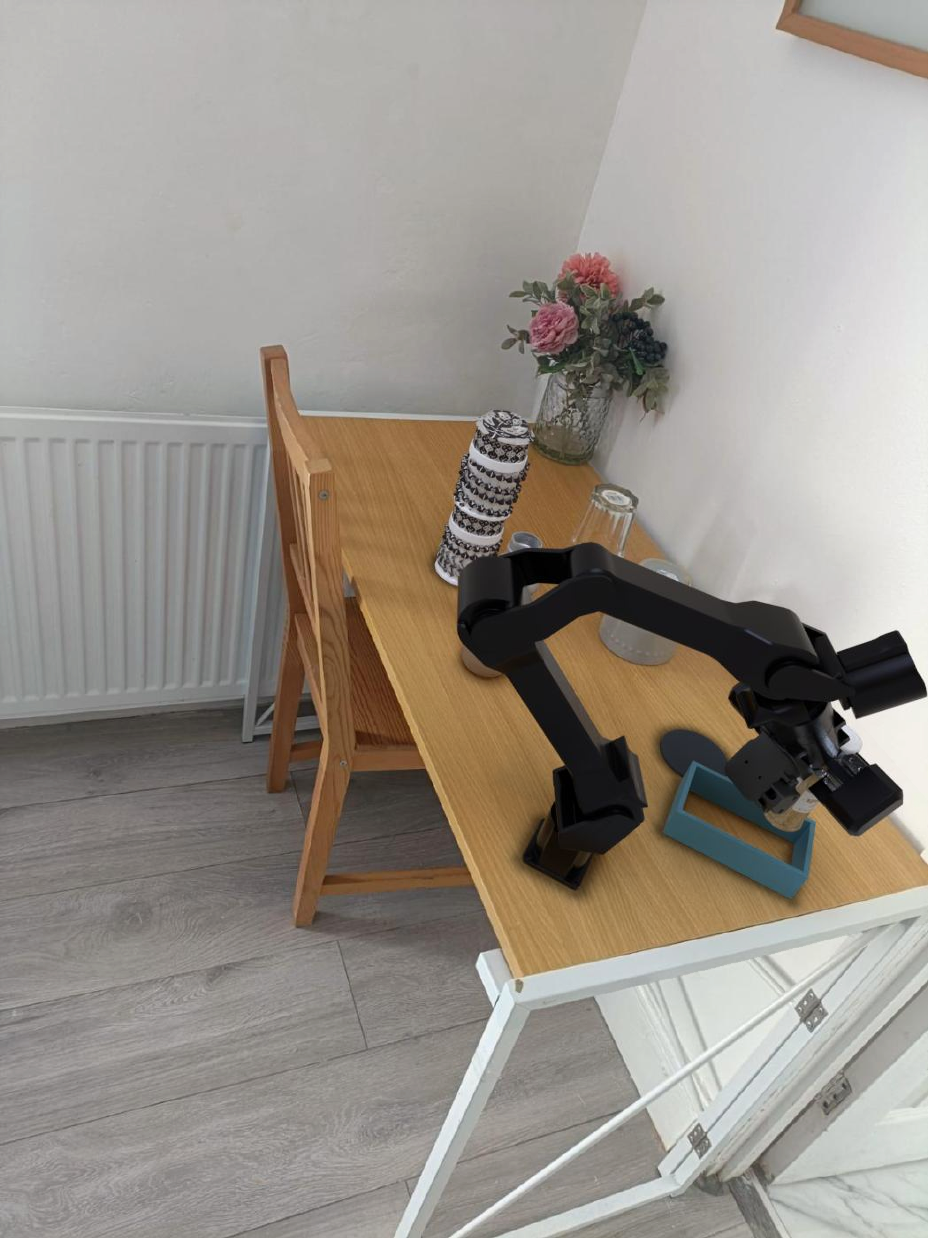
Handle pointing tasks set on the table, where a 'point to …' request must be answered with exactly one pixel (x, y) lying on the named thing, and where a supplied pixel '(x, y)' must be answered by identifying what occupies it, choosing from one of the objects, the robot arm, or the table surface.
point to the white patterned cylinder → (485, 491)
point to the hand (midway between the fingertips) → (820, 772)
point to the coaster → (691, 751)
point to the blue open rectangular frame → (730, 847)
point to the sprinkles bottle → (807, 801)
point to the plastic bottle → (517, 543)
